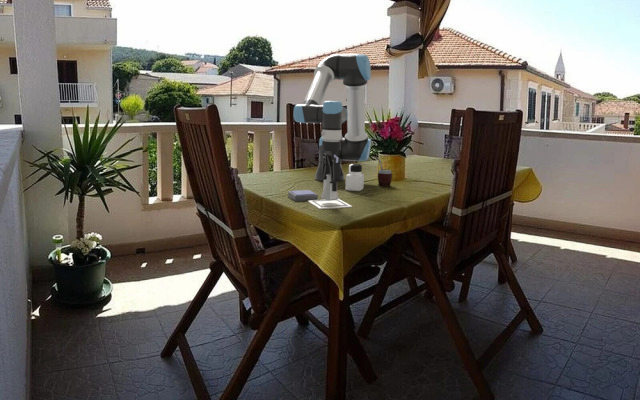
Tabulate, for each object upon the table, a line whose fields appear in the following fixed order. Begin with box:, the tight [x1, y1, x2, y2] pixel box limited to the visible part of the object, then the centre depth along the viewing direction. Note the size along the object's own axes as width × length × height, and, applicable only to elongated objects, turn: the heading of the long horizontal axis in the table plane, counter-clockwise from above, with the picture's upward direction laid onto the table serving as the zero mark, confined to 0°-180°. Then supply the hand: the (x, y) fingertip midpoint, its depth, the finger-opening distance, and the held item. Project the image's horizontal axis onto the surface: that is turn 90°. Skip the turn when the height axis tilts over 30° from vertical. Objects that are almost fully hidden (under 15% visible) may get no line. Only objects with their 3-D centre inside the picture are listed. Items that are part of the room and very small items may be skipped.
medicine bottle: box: [344, 163, 365, 192], centre depth 232 cm, size 7×7×12 cm
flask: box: [320, 174, 340, 200], centre depth 199 cm, size 7×7×10 cm
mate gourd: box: [376, 156, 393, 188], centre depth 242 cm, size 8×8×15 cm
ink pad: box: [287, 189, 319, 202], centre depth 211 cm, size 10×10×2 cm
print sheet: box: [307, 198, 353, 210], centre depth 200 cm, size 14×14×1 cm
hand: (329, 196), depth 200 cm, fingers closed on flask, 7 cm apart
